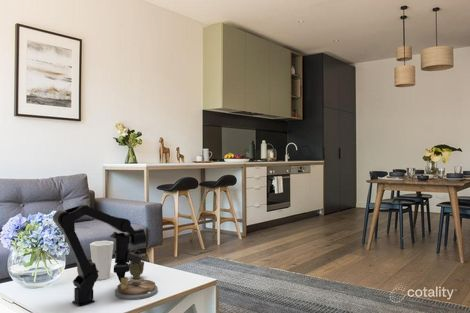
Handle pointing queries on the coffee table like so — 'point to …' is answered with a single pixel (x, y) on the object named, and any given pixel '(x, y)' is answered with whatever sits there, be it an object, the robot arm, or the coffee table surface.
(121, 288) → the handwheel
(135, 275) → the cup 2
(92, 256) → the cup
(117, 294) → the wheel base
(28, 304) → the coffee table surface
